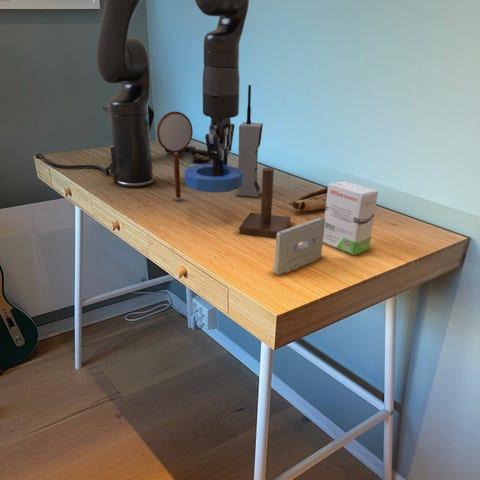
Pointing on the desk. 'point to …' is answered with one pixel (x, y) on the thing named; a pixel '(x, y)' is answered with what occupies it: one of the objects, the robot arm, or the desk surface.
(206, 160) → the rubber snake
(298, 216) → the desk surface
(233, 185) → the tape roll
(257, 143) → the vintage mobile phone
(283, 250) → the cassette
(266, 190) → the peg stand
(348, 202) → the ink box
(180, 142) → the magnifying glass
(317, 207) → the lashed bone hook
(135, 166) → the robot arm
